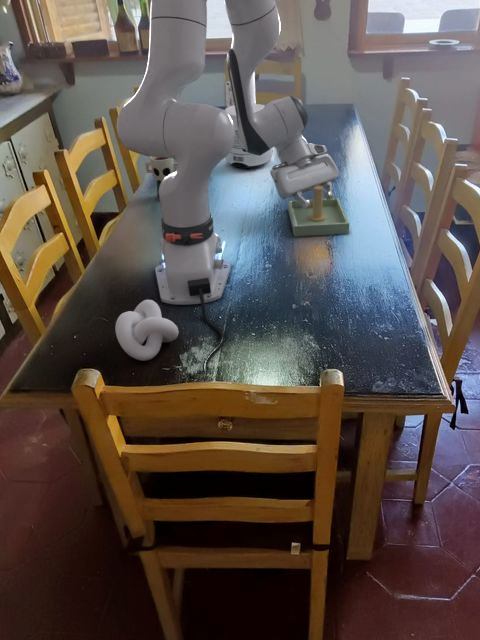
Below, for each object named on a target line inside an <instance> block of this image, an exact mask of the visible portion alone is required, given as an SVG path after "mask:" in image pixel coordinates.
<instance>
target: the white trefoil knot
mask: <svg viewBox="0 0 480 640" xmlns="http://www.w3.org/2000/svg"><path fill="white" fill-rule="evenodd" d="M114 327H115V331H114V332H115V336H116V339H117V341H118V344H119V345H120V347H121V348H122V349H123V351H124V352H125V353H126V354H127V355H128V356H129V357H131V358H132V359H135V360H138V361H142V362H143V361H144V362H146V361H150V360H152V359H154V358H155V357H156V356H157V355H158V354H159V352H160V350H161V348H162V345H163V344H162V343H171V342H173V341H175V340H176V339H177V338H178V336H179V333H180V331H179V328H178V326H177V325H176V324H175V323H174V322H173V321H172V320H170V319H168V318H165V317H163V316H162V311H161V308H160V306H159V304H158V303H157V302H155V301H154V300H153V299H144V300H143V301H141V302H139V304H137V305H136V307H135V308H134V310H133V311H131V310H128V311H125V312H122V313H121V314H120V315H119V316H118V317H117V319H116V321H115V326H114ZM145 341H146V343H145ZM144 343H145V344H144ZM143 344H144V345H143Z"/></svg>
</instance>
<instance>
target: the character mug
mask: <svg viewBox="0 0 480 640" xmlns="http://www.w3.org/2000/svg"><path fill="white" fill-rule="evenodd" d="M149 166H150V167H149ZM176 166H177V161H175V159H173V158H163V157H152V156H149V161H147V162H145V163H144V167H145V171H146V173H148V174H151V175H152V177H153V179H154V180H157V181H156V190H157V191H156V193H157V199H159V193H158V191H159V186H160V184H161V182H162V180H163V179H164V178H165V177H167V176H168V175H170V174H171V173H173V172H175V171H177V169H176ZM150 168H151V169H150Z"/></svg>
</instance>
